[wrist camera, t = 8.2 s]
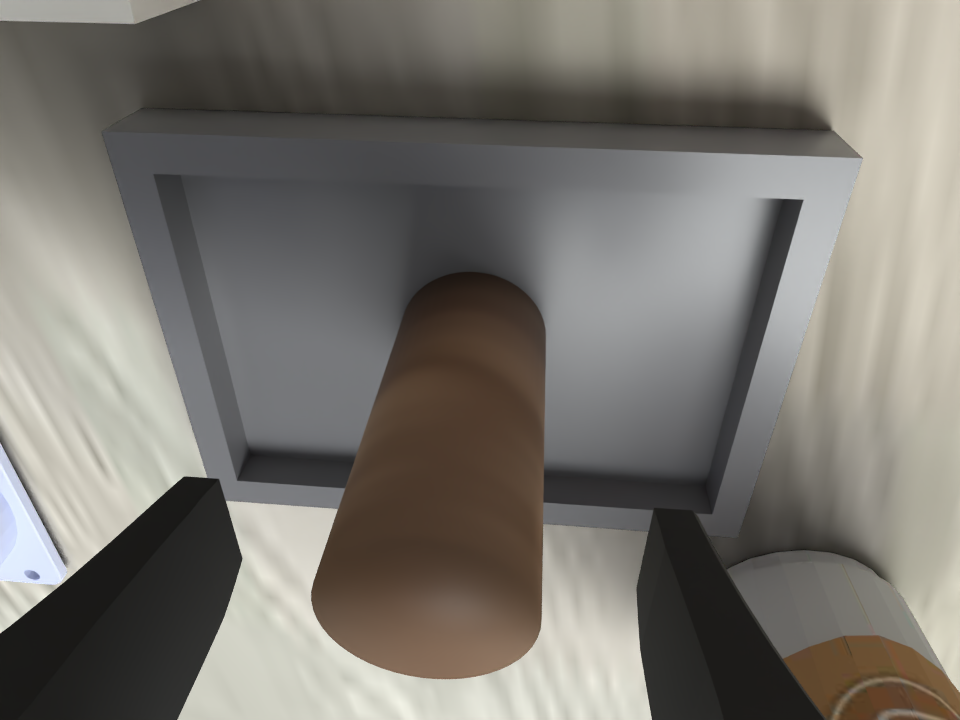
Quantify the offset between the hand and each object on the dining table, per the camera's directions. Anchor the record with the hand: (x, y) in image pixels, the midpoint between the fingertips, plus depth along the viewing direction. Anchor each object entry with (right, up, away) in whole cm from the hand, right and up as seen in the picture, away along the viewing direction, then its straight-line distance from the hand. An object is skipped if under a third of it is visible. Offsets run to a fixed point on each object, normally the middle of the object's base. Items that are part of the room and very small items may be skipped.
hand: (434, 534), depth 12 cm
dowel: (+1, +3, +5) cm, 6 cm away
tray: (+1, +4, +5) cm, 6 cm away
